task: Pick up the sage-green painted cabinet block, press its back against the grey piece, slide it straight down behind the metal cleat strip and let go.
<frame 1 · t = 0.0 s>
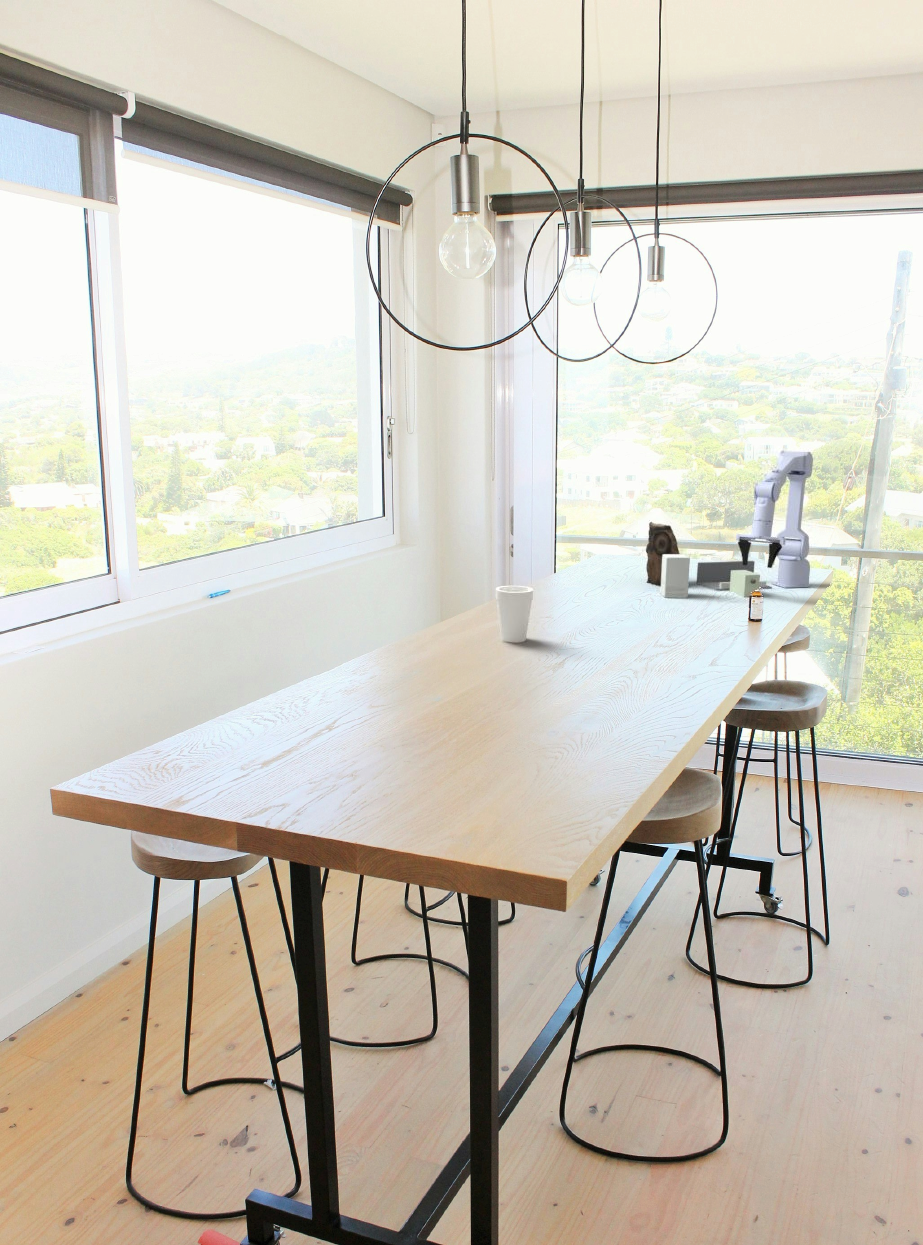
hand: (757, 566, 308), 11 cm above the table, tool pointing down, fingers open, 7 cm apart
cabinet block: (743, 594, 321), on the table
owl: (666, 584, 337), on the table
grey piece: (724, 582, 340), on the table
foam cup: (513, 640, 258), on the table
supplement box: (673, 596, 317), on the table
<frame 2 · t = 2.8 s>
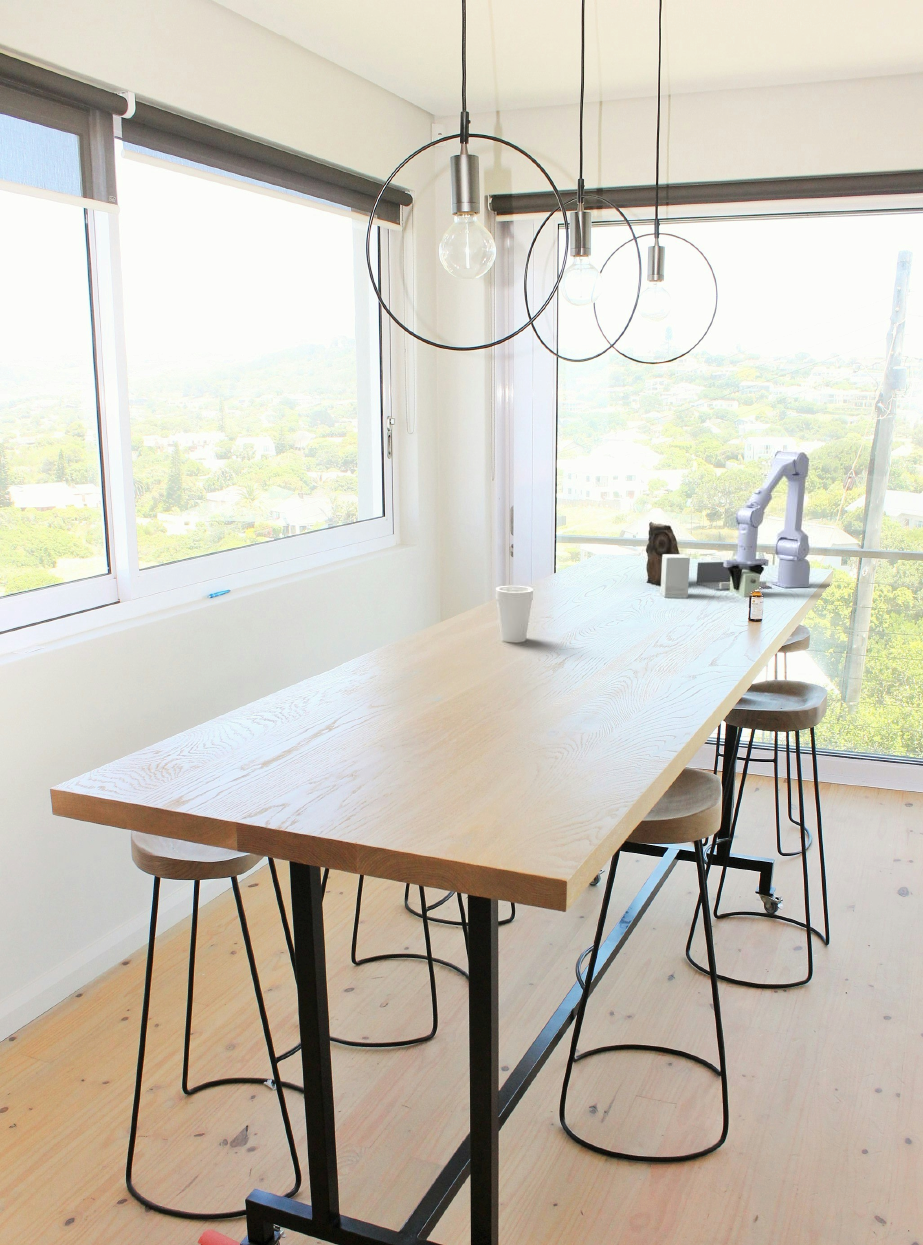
hand: (744, 589, 320), 2 cm above the table, tool pointing down, fingers closed on cabinet block, 5 cm apart
cabinet block: (743, 594, 321), on the table, touching gripper
everything else where it was.
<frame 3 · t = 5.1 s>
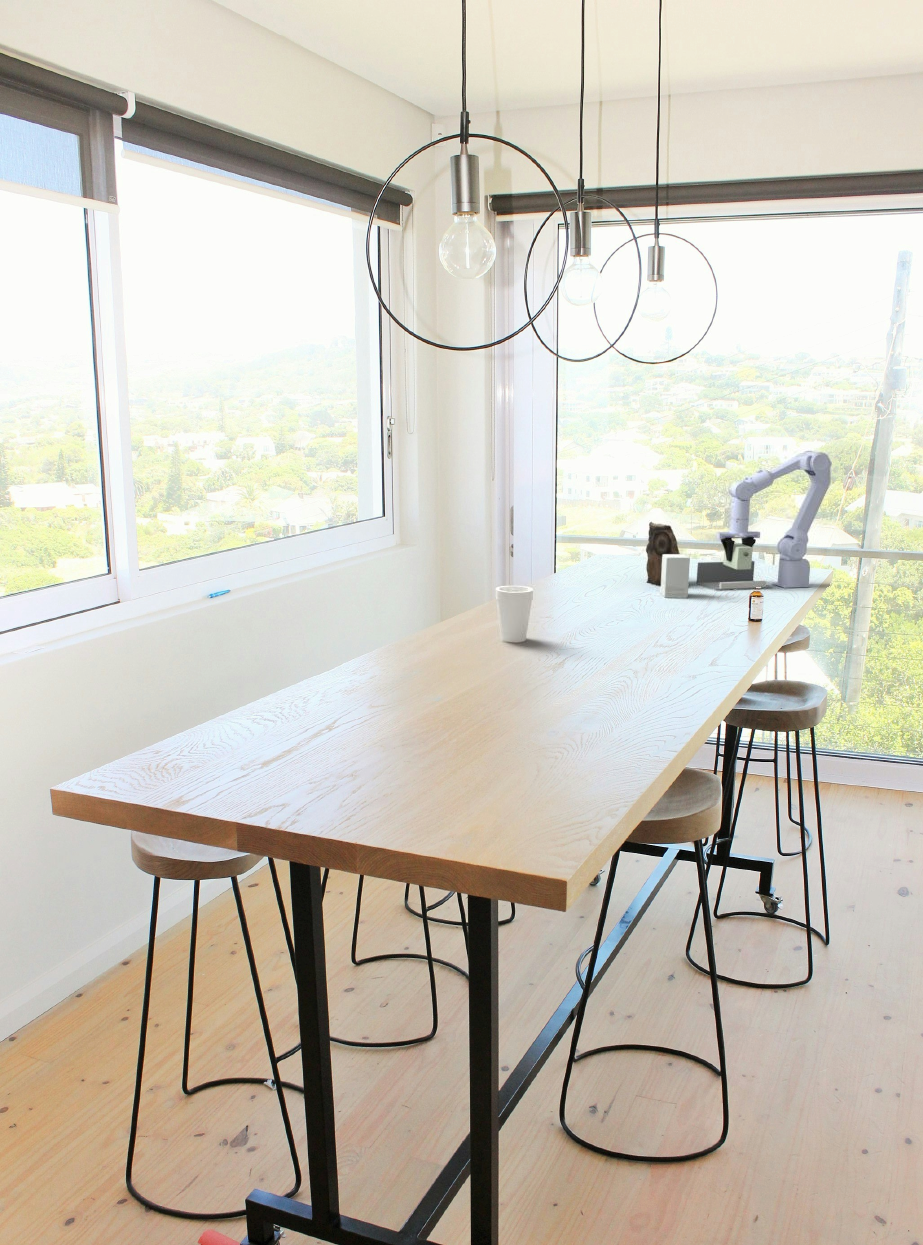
hand: (736, 560, 332), 9 cm above the table, tool pointing down, fingers closed on cabinet block, 5 cm apart
cabinet block: (736, 566, 332), point 7 cm above the table, touching gripper
everything else where it was.
when the fingers open (4 cm above the table, at t = 7.5 s): cabinet block drops 1 cm, resting on grey piece.
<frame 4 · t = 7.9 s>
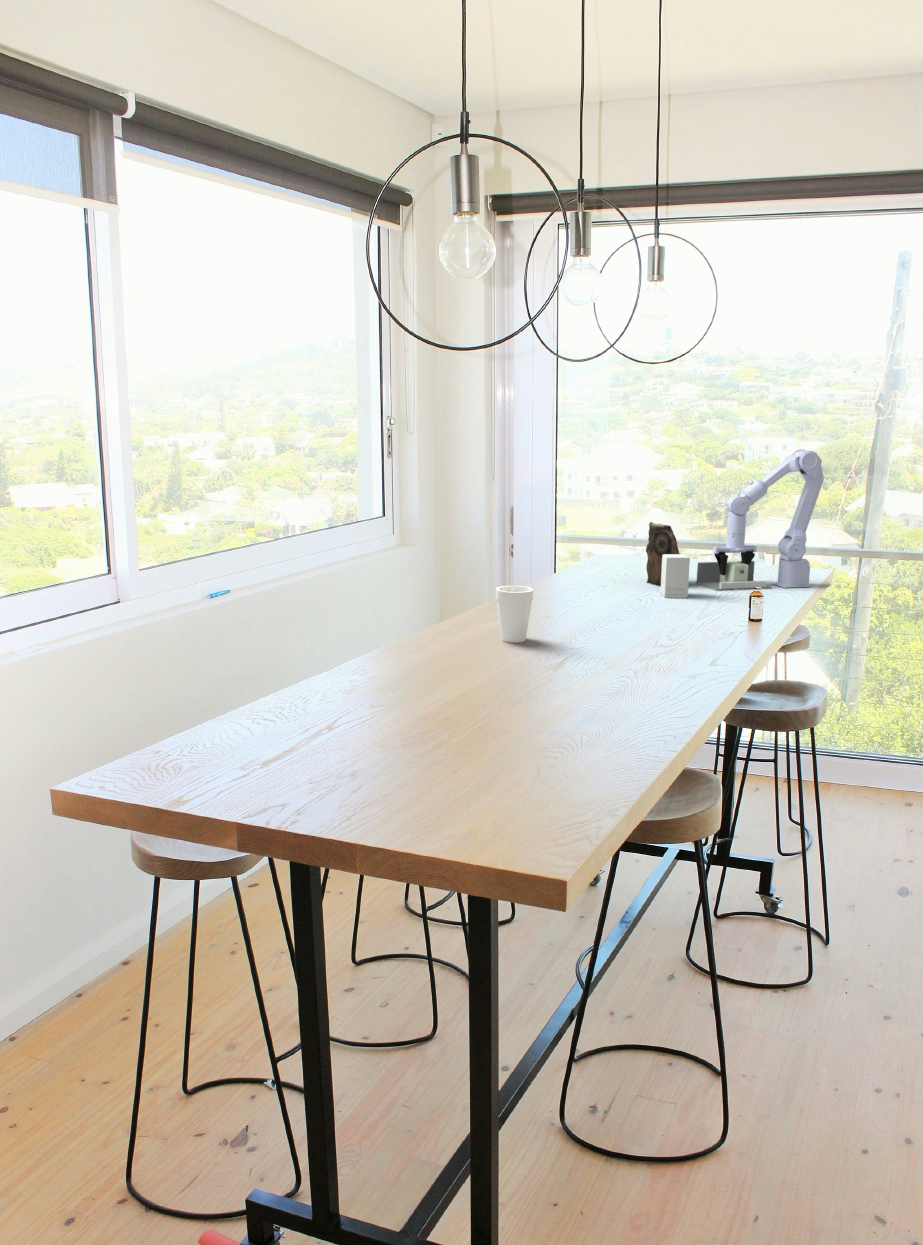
hand: (733, 574, 334), 4 cm above the table, tool pointing down, fingers open, 7 cm apart
cabinet block: (733, 584, 335), resting on grey piece
everything else where it was.
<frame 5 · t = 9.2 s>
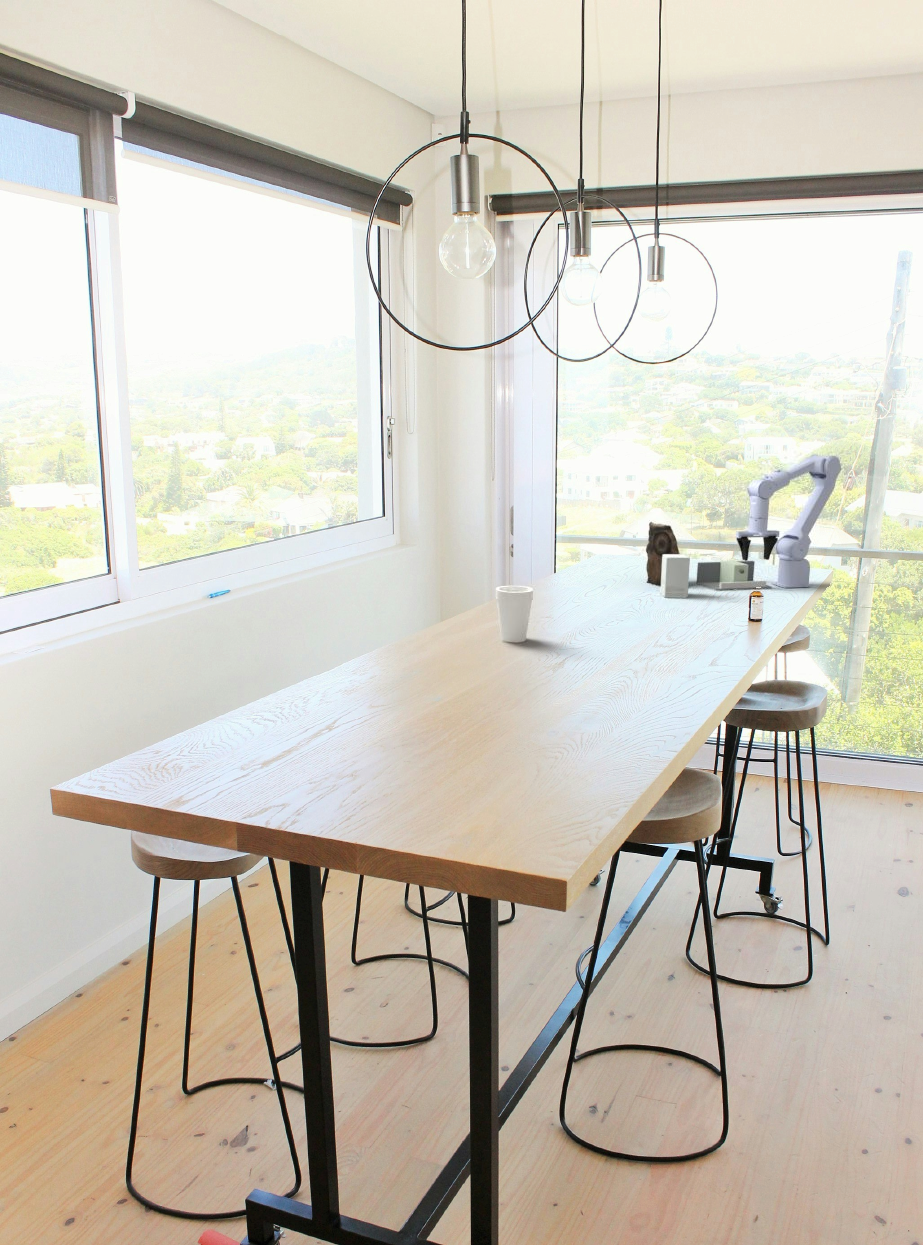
hand: (755, 559, 328), 9 cm above the table, tool pointing down, fingers open, 7 cm apart
nothing on the table moved.
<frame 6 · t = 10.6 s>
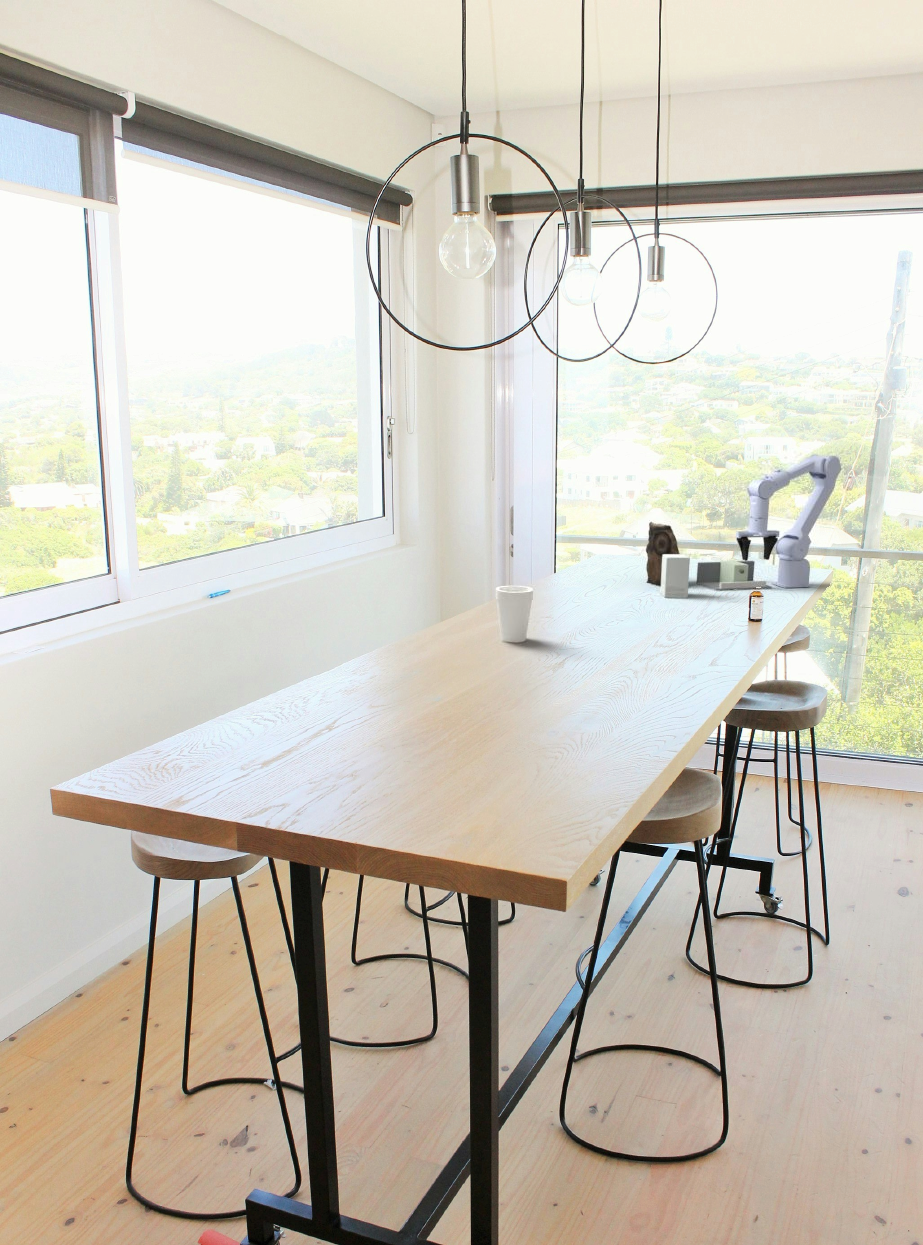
hand: (755, 559, 328), 9 cm above the table, tool pointing down, fingers open, 7 cm apart
nothing on the table moved.
at the end: cabinet block 0.0 cm from the target spot on the grey piece, point 0.5 cm above the grey piece's base; cabinet block tilted 0°; the gripper is holding nothing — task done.
